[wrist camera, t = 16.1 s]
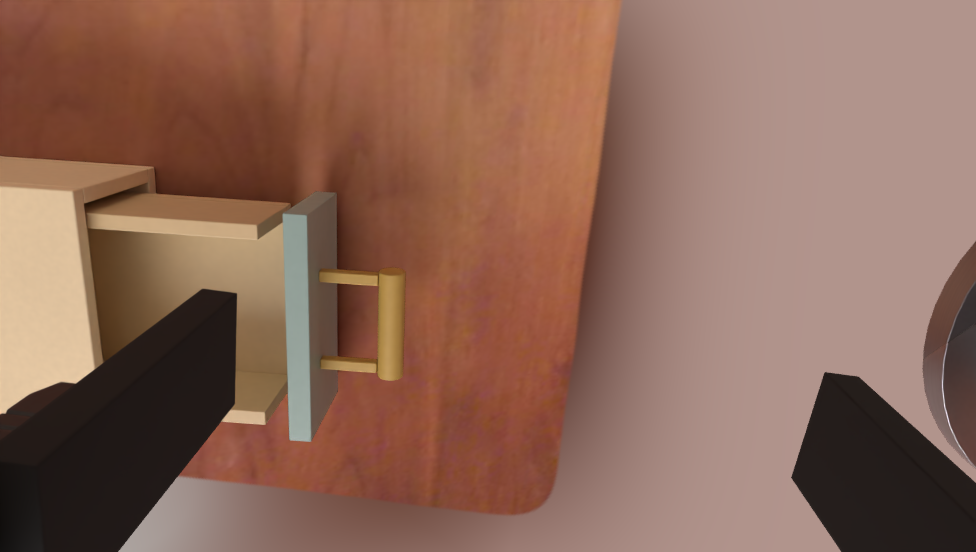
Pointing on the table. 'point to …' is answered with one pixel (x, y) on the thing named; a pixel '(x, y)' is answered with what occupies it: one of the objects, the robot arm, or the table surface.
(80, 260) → the cabinet
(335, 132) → the table surface
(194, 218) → the drawer
